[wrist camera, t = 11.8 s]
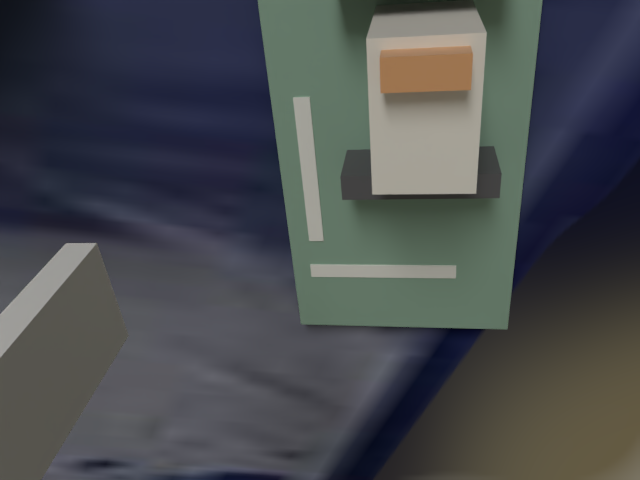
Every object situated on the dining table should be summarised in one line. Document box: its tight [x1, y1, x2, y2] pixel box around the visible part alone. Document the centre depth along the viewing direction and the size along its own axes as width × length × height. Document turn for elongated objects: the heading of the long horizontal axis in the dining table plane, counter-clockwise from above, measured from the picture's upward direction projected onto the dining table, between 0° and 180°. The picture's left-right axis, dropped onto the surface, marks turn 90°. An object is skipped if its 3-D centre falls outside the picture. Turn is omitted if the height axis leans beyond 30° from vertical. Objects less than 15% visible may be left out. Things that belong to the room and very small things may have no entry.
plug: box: [366, 0, 487, 195], centre depth 23 cm, size 4×6×7 cm, turn 5°
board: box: [258, 0, 542, 329], centre depth 28 cm, size 12×20×4 cm, turn 5°
